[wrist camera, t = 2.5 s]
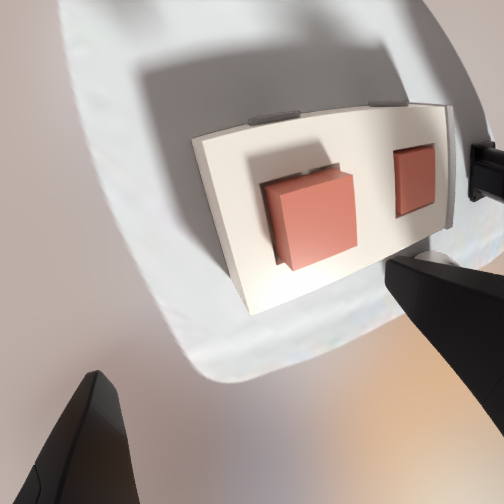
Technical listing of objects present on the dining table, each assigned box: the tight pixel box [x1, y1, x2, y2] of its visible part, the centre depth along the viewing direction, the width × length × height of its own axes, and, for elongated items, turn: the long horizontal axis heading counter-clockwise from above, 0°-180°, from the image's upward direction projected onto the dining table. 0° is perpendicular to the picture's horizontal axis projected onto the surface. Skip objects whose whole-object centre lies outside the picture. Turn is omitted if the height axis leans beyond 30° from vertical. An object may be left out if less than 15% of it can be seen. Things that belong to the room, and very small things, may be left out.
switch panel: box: [191, 101, 456, 316], centre depth 16 cm, size 17×9×4 cm, turn 101°
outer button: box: [264, 168, 357, 272], centre depth 13 cm, size 4×4×2 cm
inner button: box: [393, 145, 435, 214], centre depth 15 cm, size 4×4×2 cm
